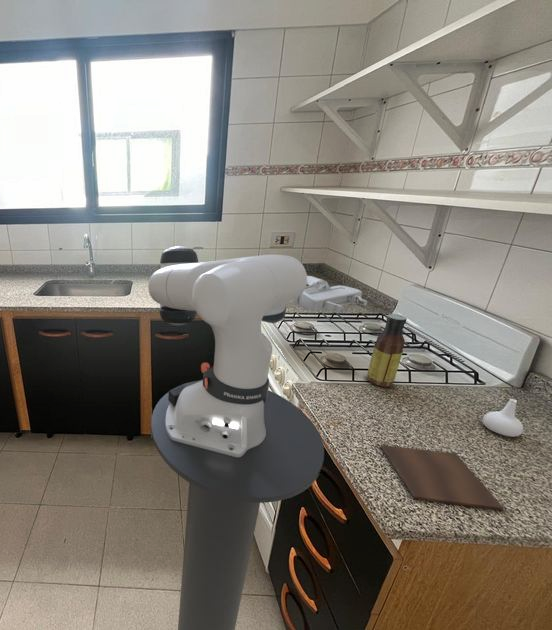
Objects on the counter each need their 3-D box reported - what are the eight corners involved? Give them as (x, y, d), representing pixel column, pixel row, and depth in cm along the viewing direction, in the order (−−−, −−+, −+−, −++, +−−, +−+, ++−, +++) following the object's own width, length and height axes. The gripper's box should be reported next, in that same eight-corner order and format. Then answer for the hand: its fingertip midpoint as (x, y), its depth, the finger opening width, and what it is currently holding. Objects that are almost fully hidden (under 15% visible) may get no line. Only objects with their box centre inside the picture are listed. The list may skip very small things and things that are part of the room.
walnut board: (413, 498, 63) (414, 496, 62) (380, 447, 74) (381, 445, 74) (502, 510, 60) (504, 508, 60) (454, 455, 72) (455, 453, 72)
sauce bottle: (390, 378, 98) (412, 314, 90) (394, 390, 92) (418, 323, 84) (363, 373, 100) (382, 310, 92) (366, 384, 95) (386, 319, 87)
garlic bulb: (490, 436, 77) (505, 407, 73) (474, 418, 82) (487, 390, 79) (526, 442, 75) (543, 413, 72) (507, 423, 80) (522, 395, 77)
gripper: (335, 296, 116) (375, 310, 104) (288, 305, 109) (326, 322, 97) (339, 278, 113) (381, 291, 102) (292, 286, 106) (331, 301, 95)
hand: (354, 306), depth 99 cm, fingers open, 8 cm apart
